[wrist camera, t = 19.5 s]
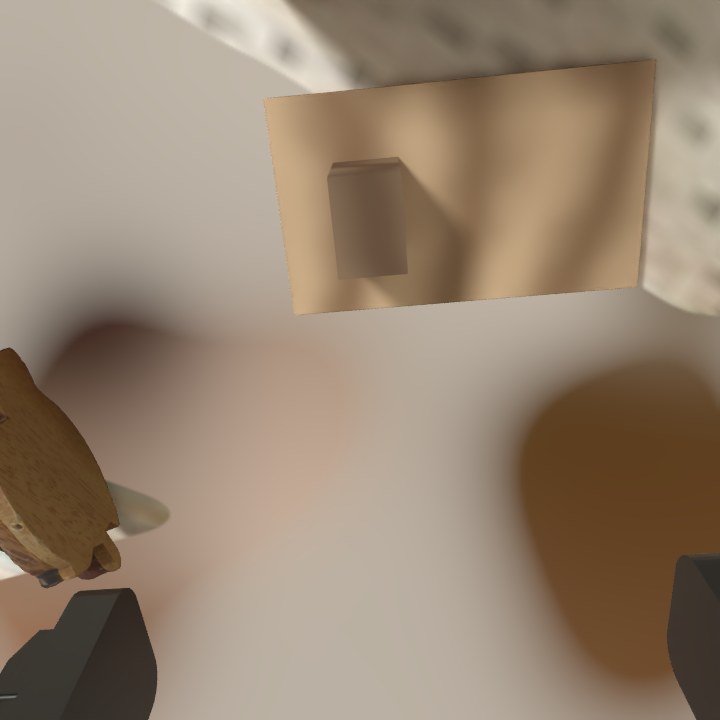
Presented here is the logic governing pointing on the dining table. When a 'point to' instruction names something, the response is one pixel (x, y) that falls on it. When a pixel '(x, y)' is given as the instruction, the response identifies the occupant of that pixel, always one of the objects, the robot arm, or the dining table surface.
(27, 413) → the wooden carving
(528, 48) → the dining table surface
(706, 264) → the dining table surface
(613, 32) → the dining table surface
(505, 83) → the lid
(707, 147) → the dining table surface
